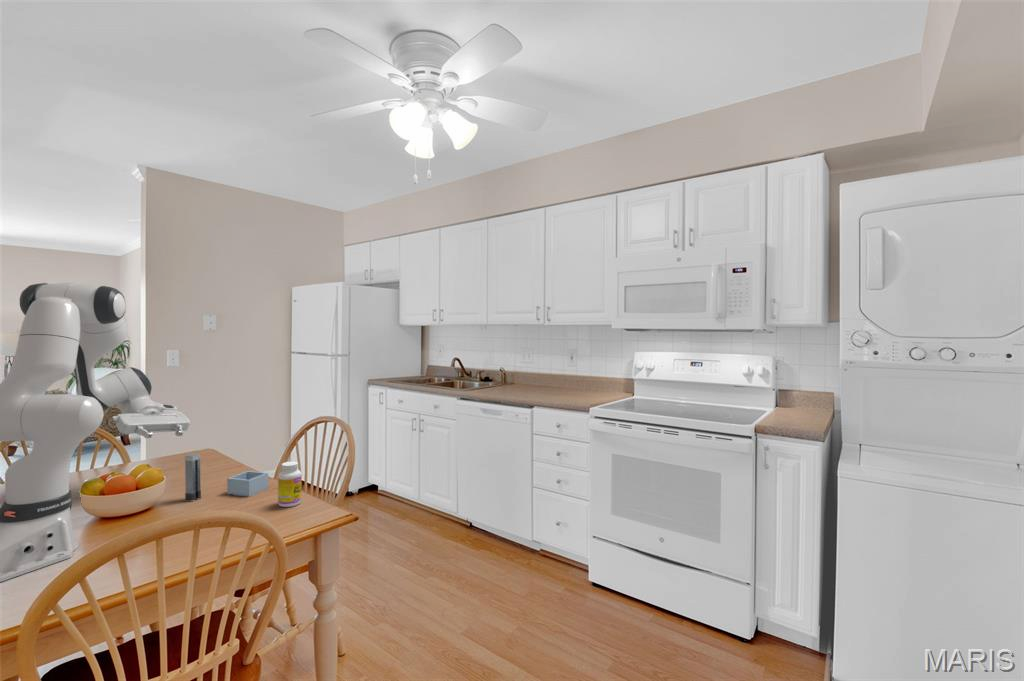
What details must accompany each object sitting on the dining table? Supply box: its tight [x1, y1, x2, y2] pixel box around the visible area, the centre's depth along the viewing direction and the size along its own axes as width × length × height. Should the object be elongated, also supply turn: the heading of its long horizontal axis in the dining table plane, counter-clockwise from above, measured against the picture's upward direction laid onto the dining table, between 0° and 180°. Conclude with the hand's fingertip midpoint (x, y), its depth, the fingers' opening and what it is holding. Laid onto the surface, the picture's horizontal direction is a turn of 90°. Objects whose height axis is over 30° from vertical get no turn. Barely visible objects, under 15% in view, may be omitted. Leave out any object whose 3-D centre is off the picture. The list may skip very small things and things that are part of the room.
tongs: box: [184, 452, 202, 501], centre depth 154 cm, size 3×3×14 cm
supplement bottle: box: [277, 461, 302, 508], centre depth 152 cm, size 7×7×13 cm
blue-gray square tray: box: [226, 470, 269, 498], centre depth 163 cm, size 9×9×5 cm
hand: (165, 435), depth 156 cm, fingers open, 8 cm apart
